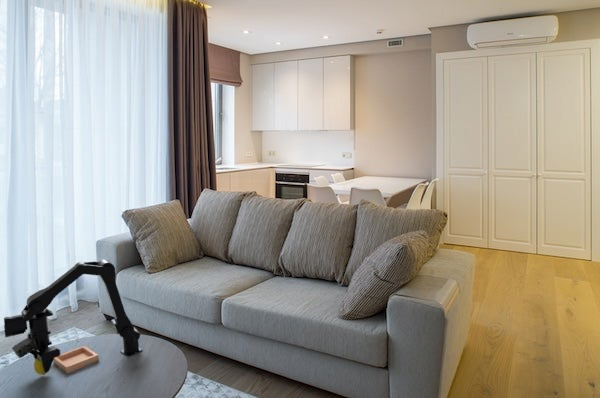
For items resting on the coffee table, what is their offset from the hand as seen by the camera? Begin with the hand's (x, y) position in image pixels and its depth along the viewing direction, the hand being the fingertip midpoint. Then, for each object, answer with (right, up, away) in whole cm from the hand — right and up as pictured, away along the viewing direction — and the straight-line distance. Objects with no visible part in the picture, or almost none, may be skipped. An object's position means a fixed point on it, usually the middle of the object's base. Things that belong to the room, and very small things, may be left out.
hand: (43, 369), depth 160 cm
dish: (+7, -1, +10) cm, 12 cm away
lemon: (0, -2, 0) cm, 2 cm away
